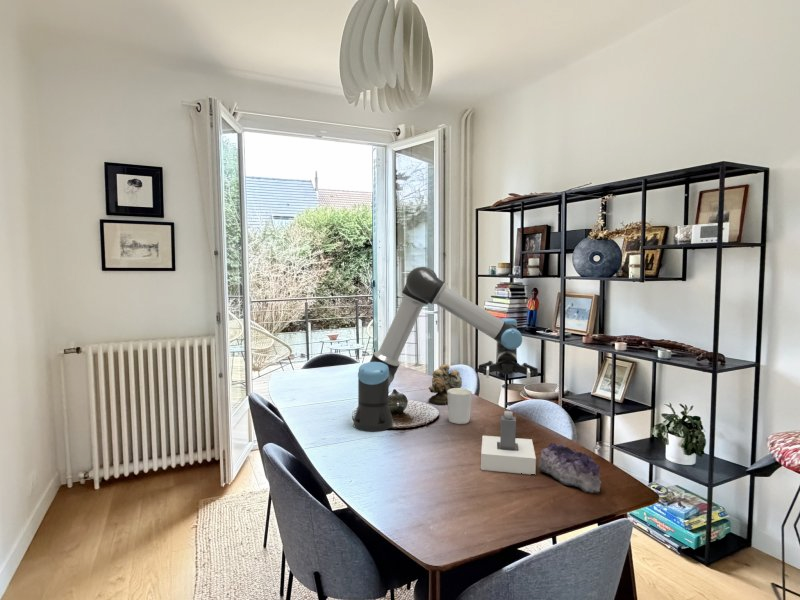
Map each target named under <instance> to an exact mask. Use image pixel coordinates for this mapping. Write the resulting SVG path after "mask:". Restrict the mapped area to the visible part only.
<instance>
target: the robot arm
mask: <svg viewBox="0 0 800 600" xmlns="http://www.w3.org/2000/svg"><path fill="white" fill-rule="evenodd" d="M401 295H402V300H401V303H400V305H399V306H398V309H397V311H396V312H395V313H396V314H395V316H394V317H393V319H392V322H391V324H390V327H389V329H388V330H387V333H386V335H385V337H384V340H383V341H382V344H381V346H380V348H379V349H378V350H377V351H374V352H373V354H372V356H371V358H370V361H369V362H366V363H363V364H361V365H360V366H359V368H358V373H357V378H358V382H357V383H358V384H357V387H358V389H357V390H358V395H357V398H358V399H357V400H358V403H357V404H358V405H357V407H356V408H357V409H356V411H355V414H354V417H353V427H354V428H355V429H357V430H360V431H365V432H380V431H381V432H382V431H385V430H389V429H391V428H392V427H393V426H392V425H394V420H393V416H392V412H391V409H390V406H389V398H390V397H389V392H390V391H389V390H390V389H389V388H390V385H391V384H392V383H393V381H394V379H395V375H396V373H397V372H398V369H399V367H400V365H401V364H400V362H399V361H400V360H399V357H400V356H401V354H402V352H403V349H404V347H405V346H406V343H407V341H408V339H409V337H410V335H411V333H412V331H413V328H414V326H415V324H416V323H417V320H418V318H419V315H420V313H421V311H422V309H423V307H425V306H426V307H427V306H428V305H429V304H430V305H437V306H439V307H440V308H442V309H443V310H445V311H447V312H449V313H450V314H452V315H453V316H455V317H457V318H458V319H460V320H462V321H463V322H465V323H466V324H468V325H470V326H471V327H473V328H475V329H477V331H479V332H482V333H484V334H485V335H486V336H488V337H490V338H491V339H493V340H494V341H496V342H497V343H496V344H497V346H496V347H497V348H496V351H497V352H496V362H495V363H494V362H493V361H492V360H489V361H487V362H485V363H481V364H478V373H483V376H486V377H485V378H486V379H489V378H490V377H489V376H490V373H494V372H495V373H496V372H497V373H501V374H504V375H512V374H522V375H526V379H527V381H529V382H530V381H531V377H532V378H533V377H538V376H539V375H538V374H539V369H538V368H537V367H535V366H533V365H530V364H528V363H526V362H523V363H522V364H520V363H518V358H517V353H518V351H517V350H518V348H520V347H521V345H522V344H523V335H522V333H521V332H520V330H518V324H517V323H518V321H517V319H515V318H511V317H510V318H509V317H508V318H507V317H505V318H504V317H503V318H498V317H497V316H495V315H494V314H492V313H490V312H489V311H488V310H485V309H484V308H482V307H481V306H479V305H477V304H476V303H474V302H472V301H471V300H469V299H467V298H465V297H464V296H462V295H461V294H460V293H458V292H456V291H455V290H452V289H451V288H449V287H448V286H447V283H446V282H445V281H444V280H442V279H441V278H439V277H438V276H437V274H436V272H435V271H434V270H433V269H432V268H429V267H426V266H419V267H416V268H413V269H411V271H409V273H408V275H407V277H406V281H405V284H404V287H403V289H402V291H401Z"/></svg>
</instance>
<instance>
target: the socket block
mask: <svg viewBox="0 0 800 600" xmlns="http://www.w3.org/2000/svg"><path fill="white" fill-rule="evenodd" d="M480 453H481V454H480V471H488V472H489V471H490V472H500V473H501V472H502V473H511V474H521V473H522V474H521V475H531V474H535V475H536V465H537V457H536V452H535V447H534V443H533V439H532V438H520V437H519V438H516V437H515V451H512V450H500V436H495V435H482V439H481V452H480Z"/></svg>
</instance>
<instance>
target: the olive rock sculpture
mask: <svg viewBox="0 0 800 600" xmlns="http://www.w3.org/2000/svg"><path fill="white" fill-rule="evenodd" d="M450 367H451V366H450V365H449V364H441V365H440V366H439V368H437V369H435V370H433V372H432V373H431V374H432V378H431V383H432V384H431V386H429V387H428V390H429V392H430V393H431V394H432V393H433V395H432V396H431V397H429V398H428V402H430V403H431V404H434V405H437V406H443V405H444V406H446V405H447V406H448V394H447V390H449V389H452V388H462V387H463V381H462V380H463V379H462V377H461V375H460V374H461V373H460V372H459V370H452V371H451V372H450V373H449V371H450ZM434 393H435V394H434Z"/></svg>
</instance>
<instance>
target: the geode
mask: <svg viewBox="0 0 800 600" xmlns="http://www.w3.org/2000/svg"><path fill="white" fill-rule="evenodd" d="M540 455H541V456H540V457H539V459H538V463H537V464H538V471H541V472H542V473H546V474H547V475H551V477H553V478H554V480H557V481H558V482H559V483H561V484H562V485H564V486H571V487H576V488H579V489H580V490H582V491H583V492H584V493H585V492H590V493H589V494H593V493H596V494H600V493H599V492H601V490H600V489H601V487H602V486H601V484H602V481H601V480H600V479H601V478H600V477H601V473H600V471H601V467H600V465H599V464H597V463H596V462H595V461H594V459H593V458H592V457H591V454H588V455H587V454H586V453H583V452H581V451H580V452H579V451H576V449H571V448H569V447H567V446H564V445H563V444H562V443H561V444H557V445H556V443H555V442H554V443H552V442H550V443H549V444H548V447H545V448H544V447H543V449H541V450H540ZM591 492H592V493H591Z"/></svg>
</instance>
